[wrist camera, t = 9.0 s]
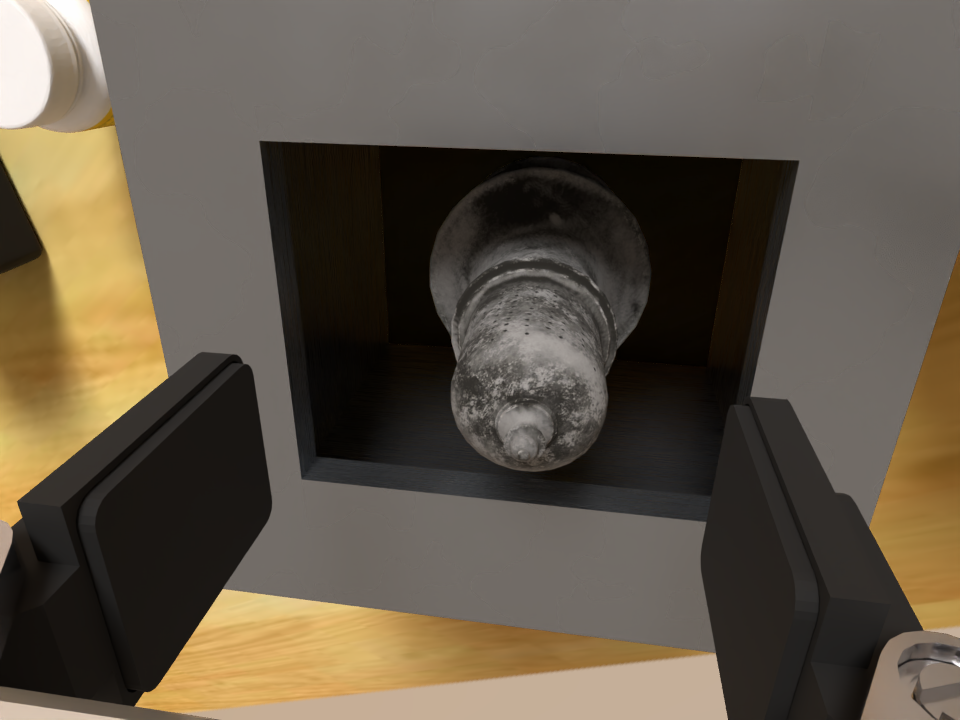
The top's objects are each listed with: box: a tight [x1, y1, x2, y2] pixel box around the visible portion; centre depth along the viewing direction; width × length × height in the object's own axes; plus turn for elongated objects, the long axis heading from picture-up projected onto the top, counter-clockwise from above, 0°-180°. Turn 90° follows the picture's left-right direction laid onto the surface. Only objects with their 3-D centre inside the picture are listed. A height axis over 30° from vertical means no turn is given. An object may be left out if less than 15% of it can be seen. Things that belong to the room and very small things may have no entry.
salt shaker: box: [430, 156, 652, 472], centre depth 16 cm, size 6×6×12 cm
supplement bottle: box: [0, 0, 115, 133], centre depth 24 cm, size 5×5×8 cm
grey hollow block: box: [89, 0, 960, 653], centre depth 21 cm, size 16×16×14 cm
